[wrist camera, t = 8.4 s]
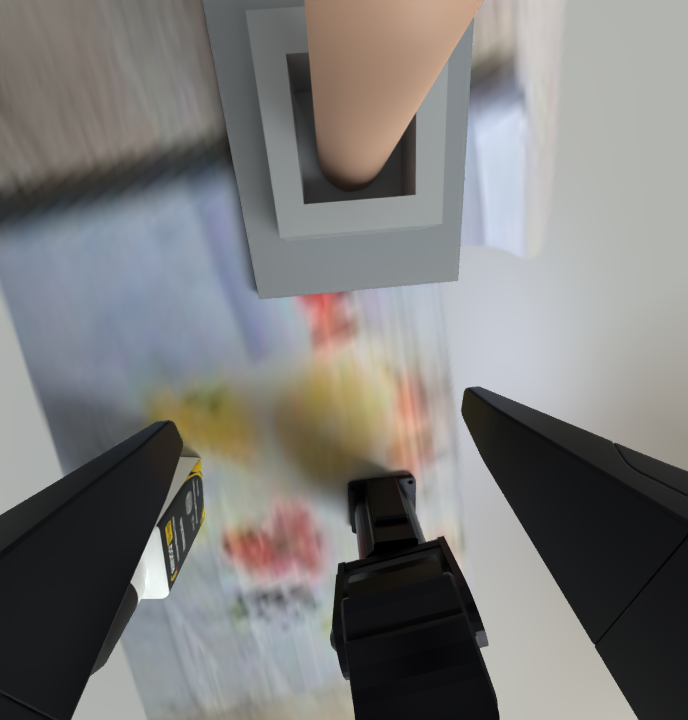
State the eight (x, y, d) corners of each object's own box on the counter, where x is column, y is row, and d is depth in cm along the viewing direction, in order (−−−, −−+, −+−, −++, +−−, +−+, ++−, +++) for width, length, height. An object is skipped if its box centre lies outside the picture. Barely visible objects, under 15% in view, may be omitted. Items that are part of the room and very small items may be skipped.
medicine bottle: (206, 515, 27) (120, 702, 15) (129, 513, 26) (-22, 706, 15) (202, 456, 24) (95, 625, 13) (116, 451, 24) (-75, 626, 12)
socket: (451, 279, 20) (480, 284, 16) (262, 297, 20) (247, 306, 16) (468, -31, 15) (517, -130, 11) (204, -14, 14) (160, -112, 10)
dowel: (369, 202, 17) (450, 93, 6) (308, 175, 17) (270, -4, 5) (394, 129, 16) (556, -179, 5) (330, 97, 15) (340, -351, 4)
